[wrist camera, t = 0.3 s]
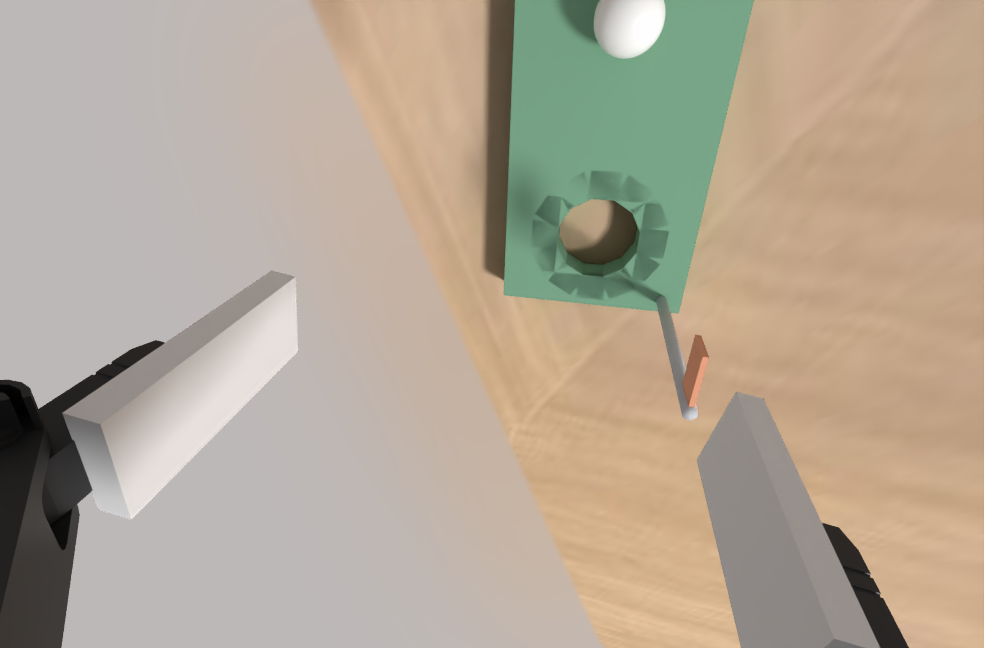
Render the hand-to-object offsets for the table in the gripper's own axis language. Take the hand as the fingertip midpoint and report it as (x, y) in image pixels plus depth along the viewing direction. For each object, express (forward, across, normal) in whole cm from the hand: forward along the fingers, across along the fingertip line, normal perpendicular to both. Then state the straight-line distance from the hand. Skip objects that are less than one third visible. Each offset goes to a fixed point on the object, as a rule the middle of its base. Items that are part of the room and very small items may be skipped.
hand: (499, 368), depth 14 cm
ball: (+22, +2, +10) cm, 25 cm away
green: (+27, +3, +2) cm, 27 cm away
